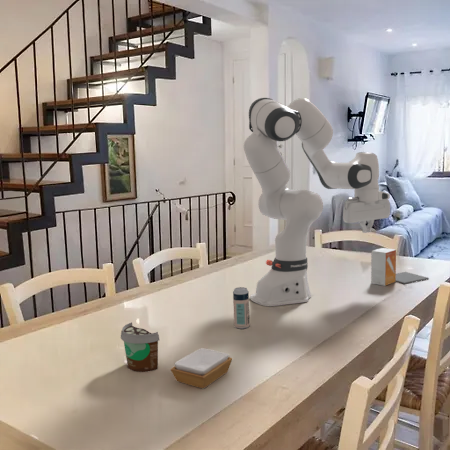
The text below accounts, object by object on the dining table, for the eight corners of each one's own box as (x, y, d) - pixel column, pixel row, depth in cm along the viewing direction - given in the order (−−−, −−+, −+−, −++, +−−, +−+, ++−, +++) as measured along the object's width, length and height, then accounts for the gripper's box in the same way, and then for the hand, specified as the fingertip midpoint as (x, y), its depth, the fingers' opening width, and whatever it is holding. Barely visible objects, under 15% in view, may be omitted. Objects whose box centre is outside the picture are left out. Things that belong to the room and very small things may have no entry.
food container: (113, 365, 134) (110, 328, 132) (133, 357, 138) (130, 321, 136) (141, 378, 125) (138, 339, 123) (161, 370, 129) (159, 332, 128)
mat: (404, 284, 199) (404, 282, 199) (381, 277, 209) (381, 276, 209) (428, 279, 204) (428, 277, 204) (405, 273, 215) (405, 271, 215)
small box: (385, 286, 197) (385, 252, 195) (370, 283, 201) (370, 250, 200) (396, 281, 202) (396, 249, 200) (381, 279, 207) (381, 247, 205)
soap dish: (204, 393, 117) (203, 371, 116) (170, 383, 122) (169, 363, 122) (233, 372, 127) (232, 352, 127) (201, 364, 133) (200, 345, 132)
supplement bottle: (246, 323, 161) (244, 286, 160) (252, 328, 157) (251, 289, 155) (231, 325, 160) (230, 288, 158) (237, 330, 155) (236, 291, 154)
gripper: (350, 198, 186) (350, 236, 188) (393, 194, 194) (392, 230, 197) (339, 197, 191) (339, 234, 193) (381, 192, 200) (381, 228, 202)
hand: (366, 232), depth 195 cm, fingers closed
